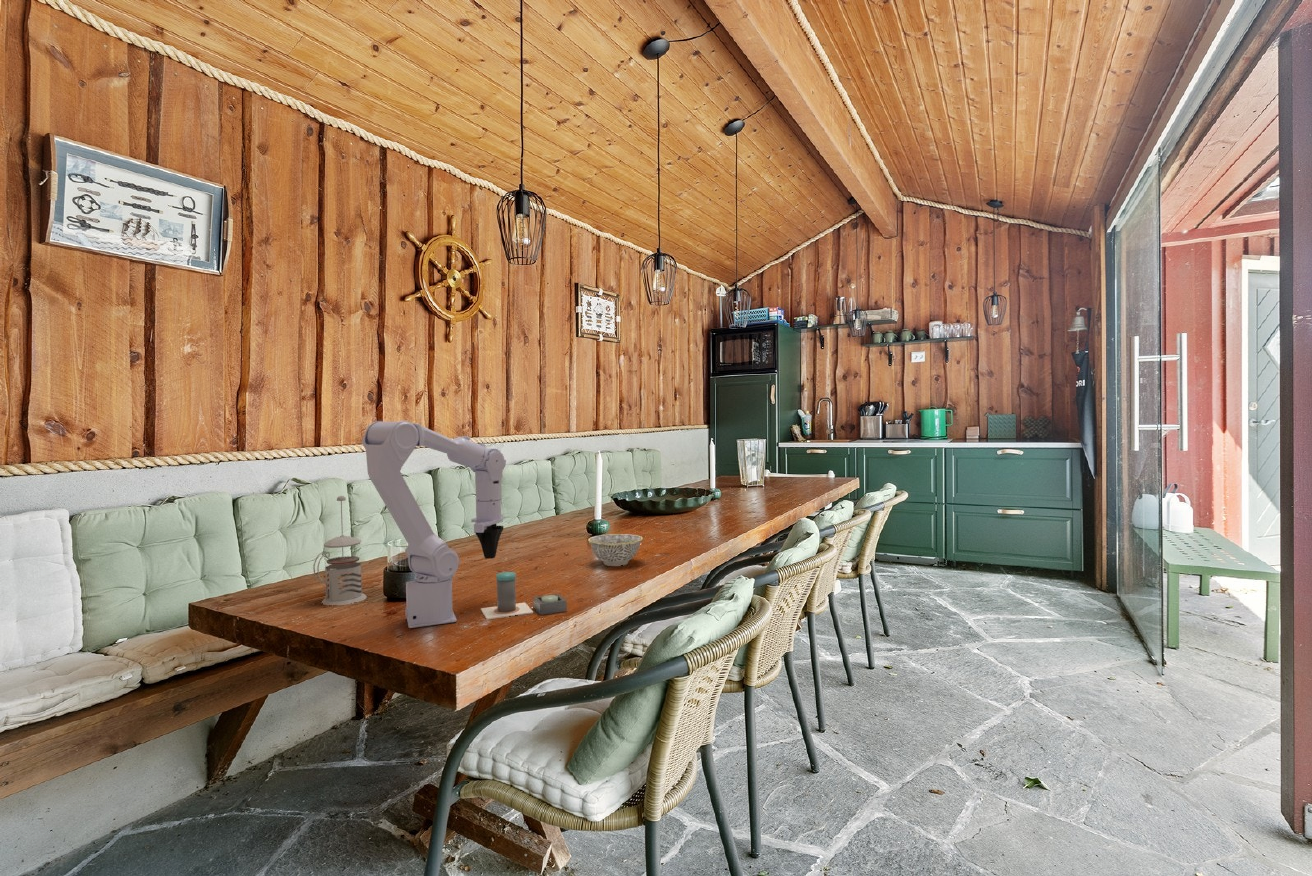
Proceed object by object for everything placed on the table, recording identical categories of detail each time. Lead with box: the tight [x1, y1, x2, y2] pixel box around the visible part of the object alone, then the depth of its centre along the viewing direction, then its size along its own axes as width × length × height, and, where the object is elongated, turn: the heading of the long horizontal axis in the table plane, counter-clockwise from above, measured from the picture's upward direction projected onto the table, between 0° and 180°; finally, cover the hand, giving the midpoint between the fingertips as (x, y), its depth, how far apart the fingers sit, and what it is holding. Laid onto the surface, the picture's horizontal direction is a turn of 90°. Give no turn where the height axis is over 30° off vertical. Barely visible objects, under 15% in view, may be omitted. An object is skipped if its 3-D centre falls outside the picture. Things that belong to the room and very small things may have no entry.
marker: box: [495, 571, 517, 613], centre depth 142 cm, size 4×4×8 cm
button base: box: [532, 593, 568, 616], centre depth 143 cm, size 6×6×2 cm
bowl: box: [587, 533, 644, 567], centre depth 187 cm, size 16×16×8 cm
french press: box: [312, 495, 367, 607], centre depth 152 cm, size 10×12×25 cm
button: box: [542, 594, 558, 603], centre depth 143 cm, size 4×4×2 cm
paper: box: [480, 602, 534, 621], centre depth 142 cm, size 10×8×1 cm
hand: (490, 557), depth 149 cm, fingers closed
